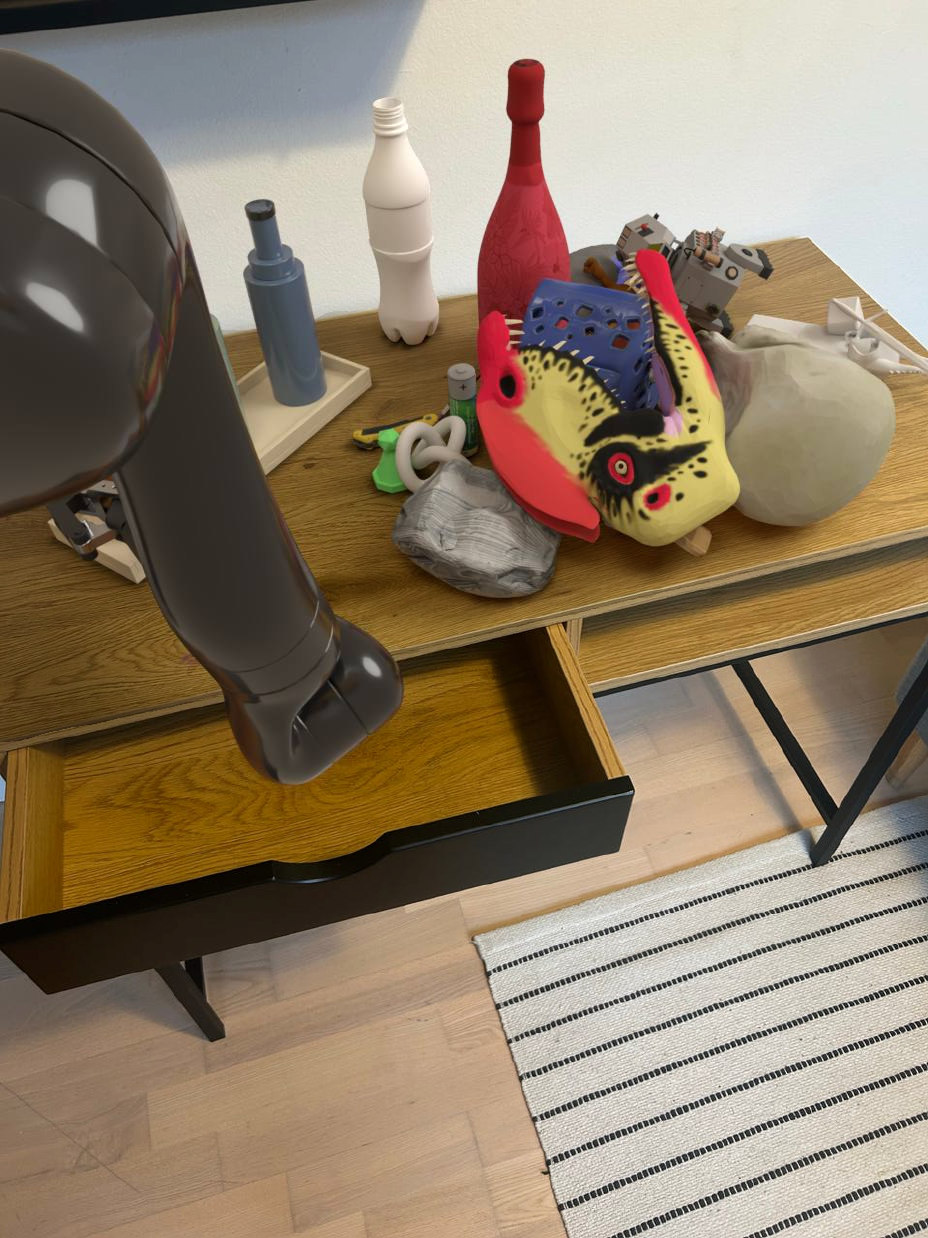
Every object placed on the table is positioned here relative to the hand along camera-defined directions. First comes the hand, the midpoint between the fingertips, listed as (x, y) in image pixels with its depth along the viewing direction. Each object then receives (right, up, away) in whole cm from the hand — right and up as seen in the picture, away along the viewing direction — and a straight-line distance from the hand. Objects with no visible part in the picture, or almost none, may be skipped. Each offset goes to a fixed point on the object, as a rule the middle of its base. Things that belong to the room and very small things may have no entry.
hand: (113, 443), depth 70 cm
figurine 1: (+61, +24, +29) cm, 71 cm away
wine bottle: (+35, +15, +28) cm, 48 cm away
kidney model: (+44, +18, +28) cm, 55 cm away
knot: (+26, -1, +15) cm, 30 cm away
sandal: (+45, -2, +7) cm, 46 cm away
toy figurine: (+44, +18, +26) cm, 54 cm away
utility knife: (+25, +6, +21) cm, 33 cm away
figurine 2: (+59, +18, +26) cm, 67 cm away
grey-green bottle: (+4, +3, +19) cm, 19 cm away
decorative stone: (+31, -5, +2) cm, 32 cm away
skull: (+46, +7, +4) cm, 47 cm away
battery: (+29, +3, +18) cm, 34 cm away
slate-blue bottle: (+10, +11, +25) cm, 29 cm away
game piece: (+22, 0, +16) cm, 27 cm away
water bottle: (+22, +20, +33) cm, 45 cm away
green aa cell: (+26, +7, +21) cm, 34 cm away
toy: (+50, +7, +2) cm, 50 cm away
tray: (+4, +3, +19) cm, 20 cm away
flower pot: (+37, +4, +12) cm, 40 cm away
